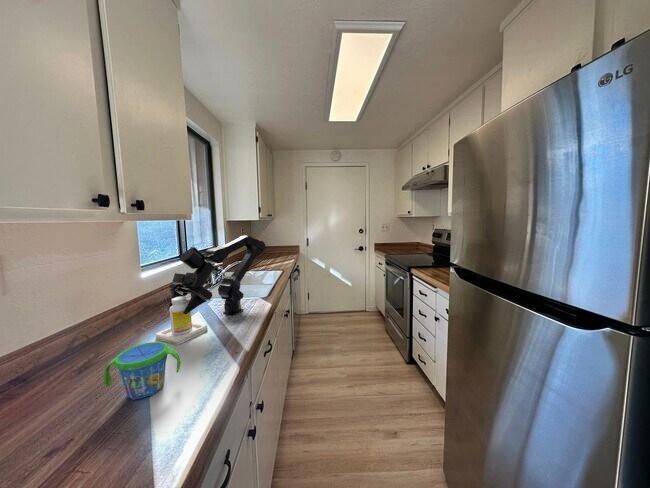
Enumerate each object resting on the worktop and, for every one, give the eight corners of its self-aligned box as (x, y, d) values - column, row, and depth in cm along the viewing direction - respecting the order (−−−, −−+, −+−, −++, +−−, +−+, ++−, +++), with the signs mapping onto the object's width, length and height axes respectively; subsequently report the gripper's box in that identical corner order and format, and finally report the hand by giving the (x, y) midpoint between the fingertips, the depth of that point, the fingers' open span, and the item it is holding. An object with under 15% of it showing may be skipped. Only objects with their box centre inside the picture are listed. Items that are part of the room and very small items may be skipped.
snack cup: (187, 372, 69) (184, 337, 68) (173, 398, 59) (169, 357, 58) (122, 382, 66) (117, 346, 65) (96, 412, 56) (89, 369, 54)
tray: (186, 325, 101) (186, 320, 101) (207, 330, 96) (207, 325, 95) (156, 339, 90) (155, 333, 90) (177, 345, 85) (176, 339, 85)
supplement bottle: (195, 330, 94) (192, 297, 92) (177, 337, 88) (173, 302, 87) (187, 326, 98) (184, 294, 96) (168, 333, 92) (165, 299, 91)
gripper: (171, 262, 98) (143, 298, 90) (202, 265, 89) (174, 305, 81) (191, 278, 106) (168, 312, 97) (222, 281, 97) (199, 319, 89)
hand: (176, 312), depth 91 cm, fingers open, 9 cm apart
